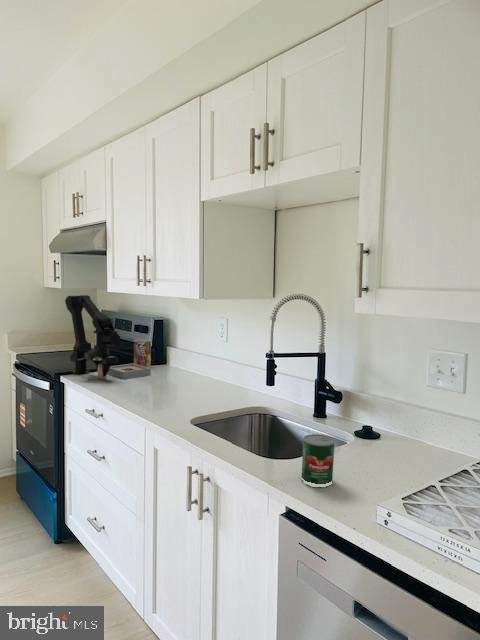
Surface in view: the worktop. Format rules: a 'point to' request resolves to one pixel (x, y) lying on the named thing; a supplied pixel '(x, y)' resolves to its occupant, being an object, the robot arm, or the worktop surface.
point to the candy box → (142, 353)
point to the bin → (129, 371)
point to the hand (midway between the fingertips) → (102, 375)
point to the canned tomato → (318, 458)
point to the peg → (100, 372)
